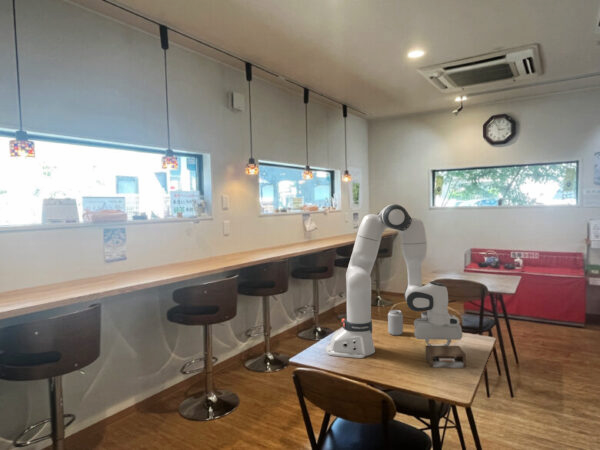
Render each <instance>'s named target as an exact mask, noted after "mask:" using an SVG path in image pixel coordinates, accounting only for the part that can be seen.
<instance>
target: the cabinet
mask: <svg viewBox="0 0 600 450" xmlns="http://www.w3.org/2000/svg"><path fill="white" fill-rule="evenodd" d="M424 347H425V349H424V350H425V351H424V352H425V354H424V355H425V360H426V361H427V363H428V365H429V366H430V368H449V369H450V368H452V369H453V368H455V369H456V368H458V369H460V368H461V369H462V368H463V369H464V368H467V367H466V366H467V365H466V364H467V360H466V357H467V354H466V352H464V350H463V349H462V348H461V346H459V345H449V346H427V345H425V346H424ZM435 356H453V357H454V359H455V361H437V359H436V358H435Z"/></svg>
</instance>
